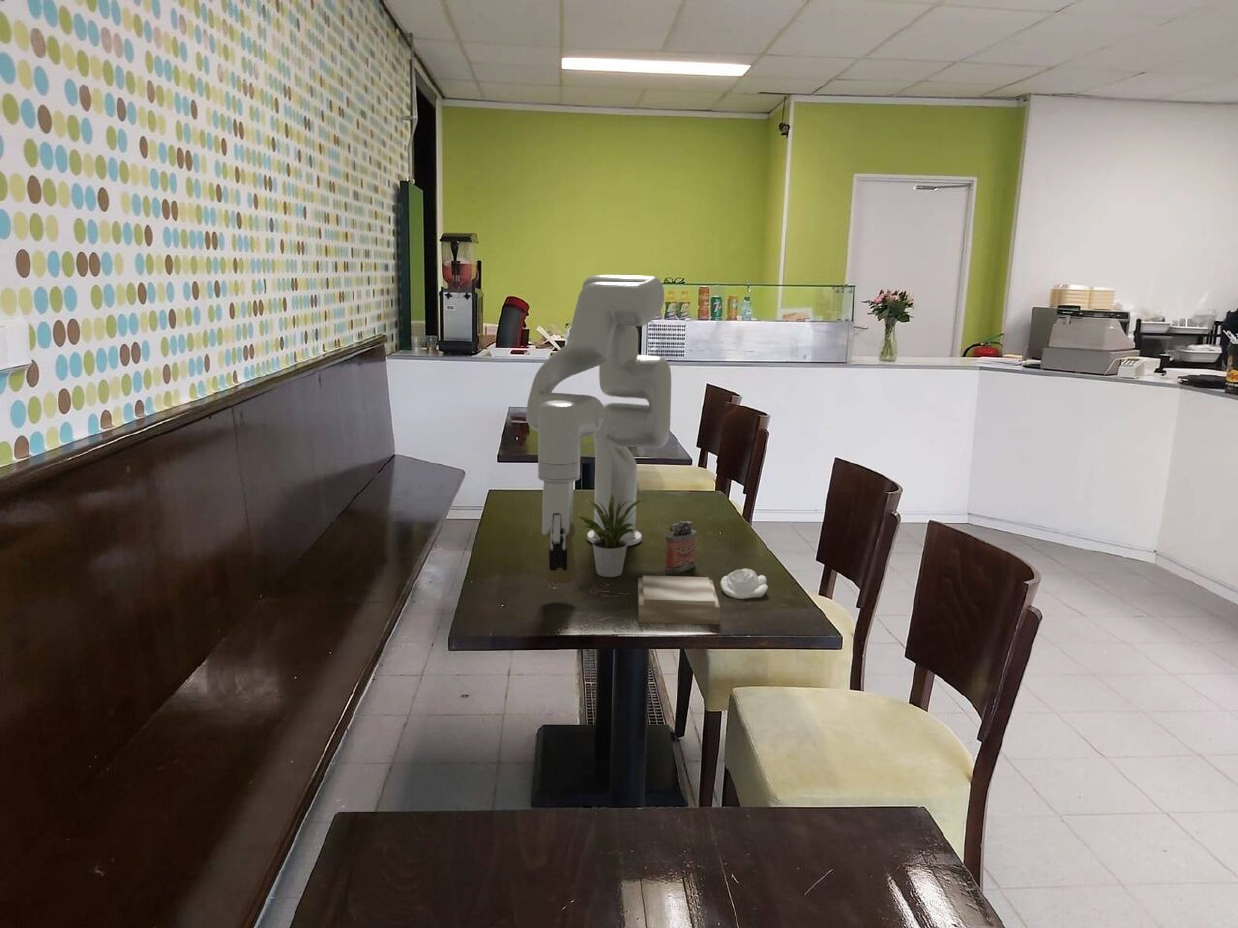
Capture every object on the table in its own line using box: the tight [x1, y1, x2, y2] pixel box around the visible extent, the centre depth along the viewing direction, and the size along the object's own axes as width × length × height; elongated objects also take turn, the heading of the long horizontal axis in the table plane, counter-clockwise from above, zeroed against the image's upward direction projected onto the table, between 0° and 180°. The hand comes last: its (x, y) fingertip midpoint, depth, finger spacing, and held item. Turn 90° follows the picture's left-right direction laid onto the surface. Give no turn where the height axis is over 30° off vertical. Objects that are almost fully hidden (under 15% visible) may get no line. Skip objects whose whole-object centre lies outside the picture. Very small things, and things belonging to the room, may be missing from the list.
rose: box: [720, 568, 769, 600], centre depth 167 cm, size 10×4×10 cm
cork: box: [544, 521, 578, 584], centre depth 159 cm, size 6×6×11 cm
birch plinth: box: [637, 575, 721, 625], centre depth 157 cm, size 14×14×4 cm
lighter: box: [664, 520, 697, 574], centre depth 179 cm, size 8×3×10 cm, turn 135°
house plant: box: [573, 495, 648, 578], centre depth 175 cm, size 14×14×16 cm
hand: (559, 565), depth 159 cm, fingers closed on cork, 3 cm apart
